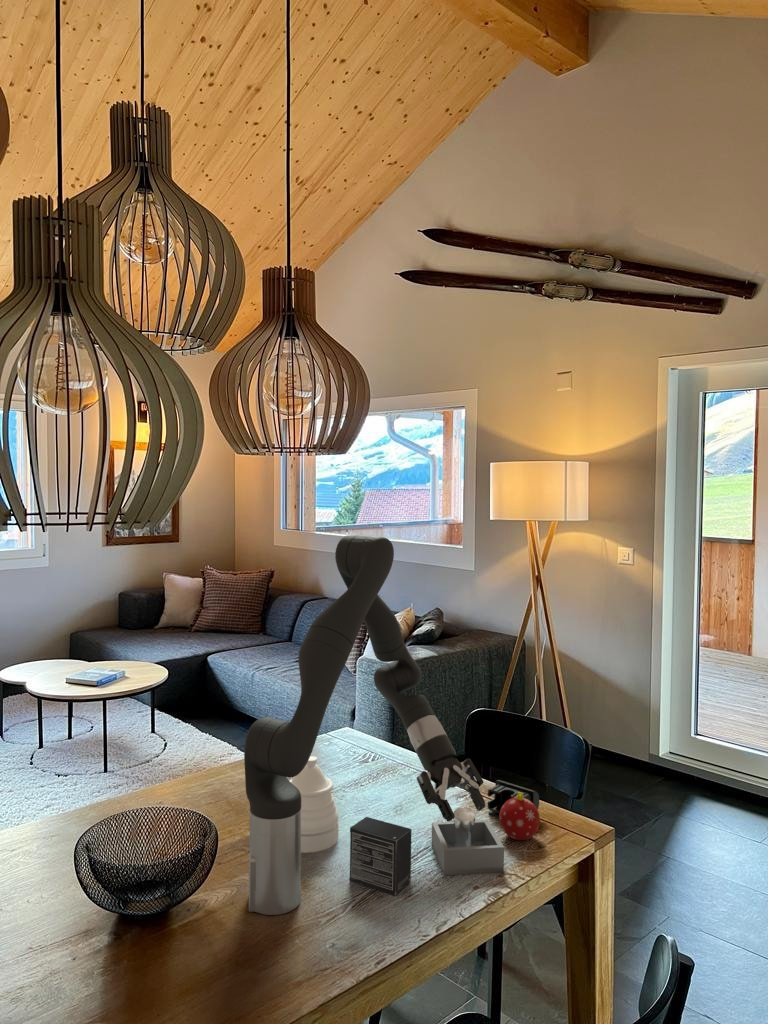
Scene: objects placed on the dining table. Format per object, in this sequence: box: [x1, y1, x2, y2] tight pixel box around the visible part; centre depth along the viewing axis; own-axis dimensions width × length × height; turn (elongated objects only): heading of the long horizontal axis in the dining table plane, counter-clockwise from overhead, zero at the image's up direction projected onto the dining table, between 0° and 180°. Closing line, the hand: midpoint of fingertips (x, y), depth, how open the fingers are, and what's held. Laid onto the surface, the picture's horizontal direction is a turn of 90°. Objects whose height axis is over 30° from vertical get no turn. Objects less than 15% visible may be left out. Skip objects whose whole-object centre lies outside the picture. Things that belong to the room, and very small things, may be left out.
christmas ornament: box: [498, 792, 541, 841], centre depth 165 cm, size 9×9×10 cm
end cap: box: [487, 779, 540, 819], centre depth 176 cm, size 10×7×7 cm
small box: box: [348, 816, 412, 896], centre depth 147 cm, size 11×6×10 cm, turn 59°
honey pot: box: [289, 755, 340, 854], centre depth 163 cm, size 13×13×18 cm
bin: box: [431, 819, 505, 876], centre depth 156 cm, size 12×12×5 cm
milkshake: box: [452, 807, 480, 847], centre depth 156 cm, size 4×5×10 cm
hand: (467, 814), depth 155 cm, fingers open, 8 cm apart
